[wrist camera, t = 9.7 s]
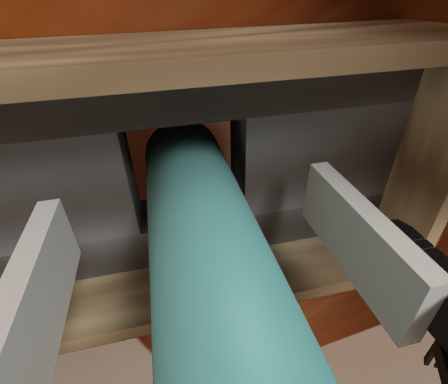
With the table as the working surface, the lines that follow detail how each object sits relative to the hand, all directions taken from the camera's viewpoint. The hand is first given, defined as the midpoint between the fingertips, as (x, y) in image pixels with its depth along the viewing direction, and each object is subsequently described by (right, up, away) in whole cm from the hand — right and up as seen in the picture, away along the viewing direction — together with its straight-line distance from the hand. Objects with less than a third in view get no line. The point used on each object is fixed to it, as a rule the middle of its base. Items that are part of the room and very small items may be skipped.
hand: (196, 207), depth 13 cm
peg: (-1, +3, +4) cm, 5 cm away
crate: (-1, +3, +4) cm, 5 cm away
